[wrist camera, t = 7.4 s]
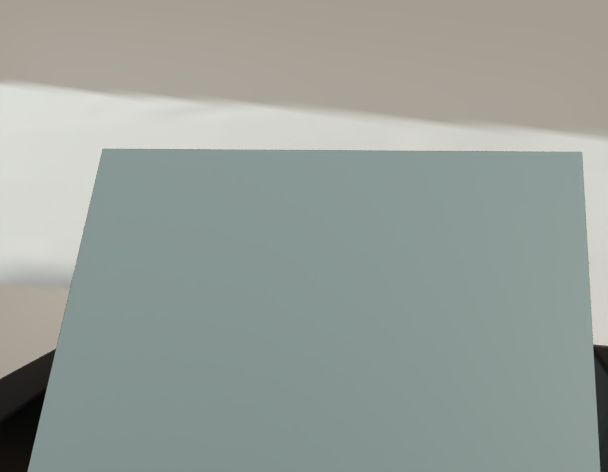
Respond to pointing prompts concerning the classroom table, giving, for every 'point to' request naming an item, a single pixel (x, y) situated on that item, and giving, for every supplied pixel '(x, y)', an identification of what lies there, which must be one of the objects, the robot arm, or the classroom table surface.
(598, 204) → the classroom table surface
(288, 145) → the classroom table surface
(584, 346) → the block
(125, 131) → the classroom table surface
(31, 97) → the classroom table surface
